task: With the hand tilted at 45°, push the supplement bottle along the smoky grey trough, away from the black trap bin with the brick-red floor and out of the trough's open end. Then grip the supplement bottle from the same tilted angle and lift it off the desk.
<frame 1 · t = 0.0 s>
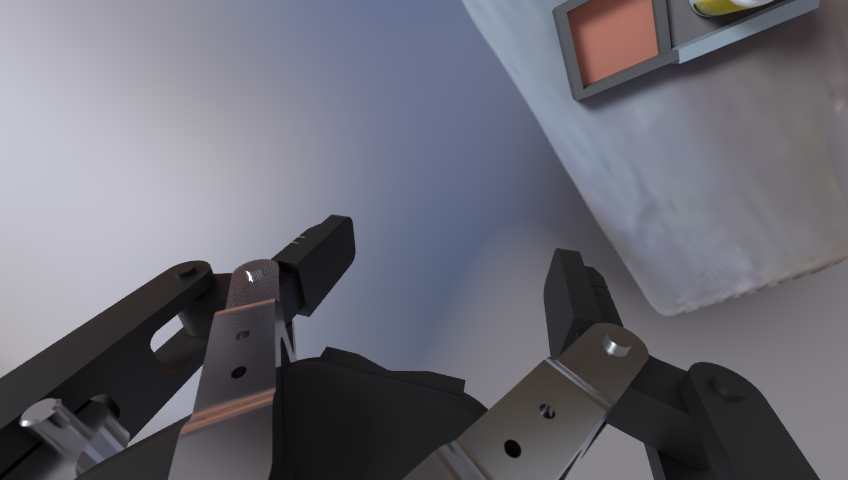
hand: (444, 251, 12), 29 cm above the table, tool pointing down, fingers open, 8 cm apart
trap bin: (613, 34, 29), on the table
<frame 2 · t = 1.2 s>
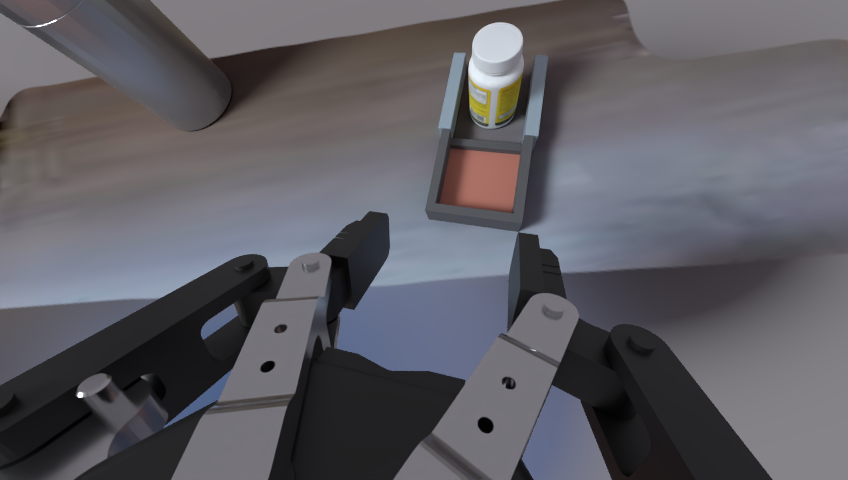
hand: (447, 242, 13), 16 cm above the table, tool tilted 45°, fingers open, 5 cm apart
trough: (490, 115, 32), on the table
supplement bottle: (492, 112, 33), on the table
trap bin: (479, 178, 29), on the table
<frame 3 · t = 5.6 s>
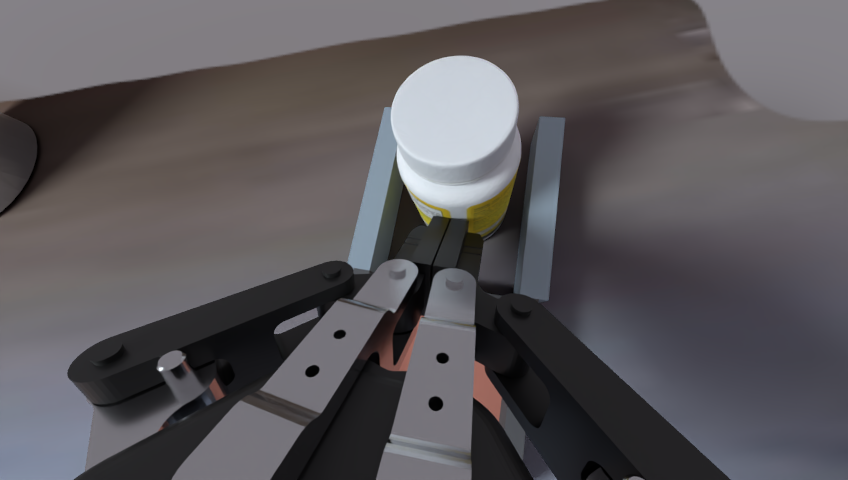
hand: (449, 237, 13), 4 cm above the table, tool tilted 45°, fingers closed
trough: (456, 222, 17), on the table
supplement bottle: (462, 207, 18), on the table, touching gripper
trap bin: (428, 376, 14), on the table
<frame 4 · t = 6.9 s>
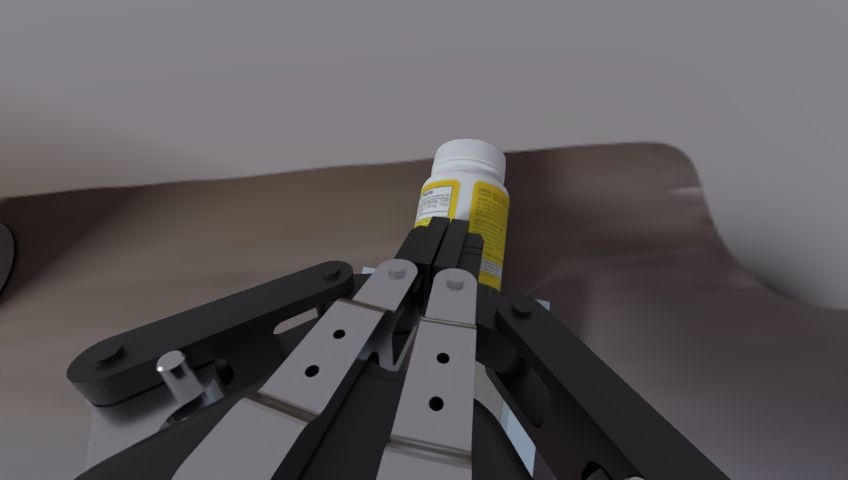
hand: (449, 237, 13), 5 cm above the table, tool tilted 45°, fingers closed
trough: (435, 388, 16), on the table
supplement bottle: (447, 312, 15), point 2 cm above the table, touching gripper
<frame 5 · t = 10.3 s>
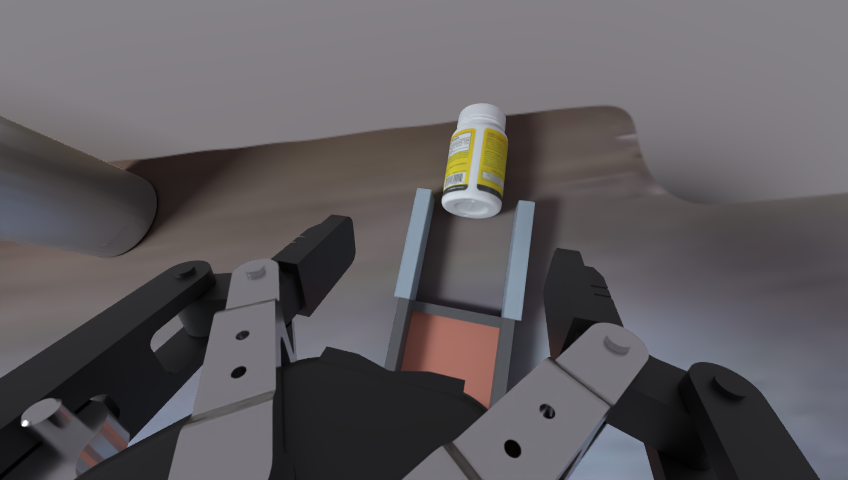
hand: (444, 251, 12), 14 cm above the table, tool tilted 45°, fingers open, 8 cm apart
trough: (464, 264, 26), on the table
supplement bottle: (469, 211, 24), point 2 cm above the table
trap bin: (446, 366, 23), on the table
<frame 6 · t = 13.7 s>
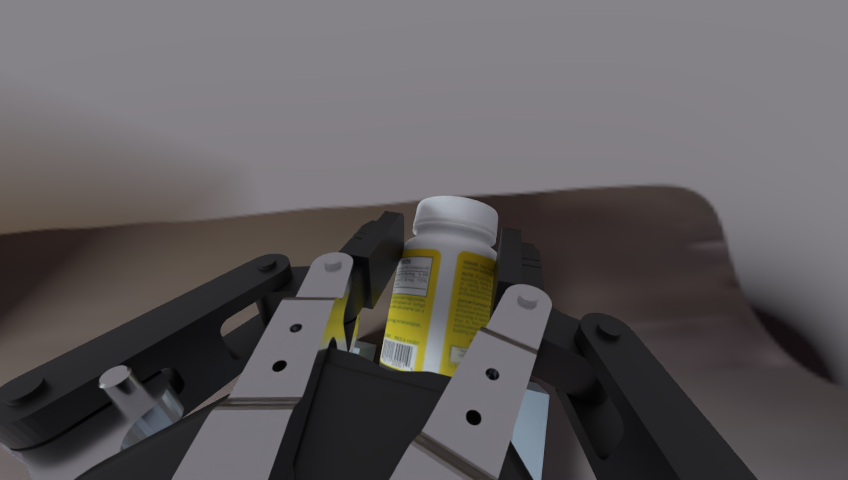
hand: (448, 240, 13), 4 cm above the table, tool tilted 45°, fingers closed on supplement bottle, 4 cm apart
trough: (420, 477, 14), on the table
supplement bottle: (428, 400, 13), point 2 cm above the table, touching gripper
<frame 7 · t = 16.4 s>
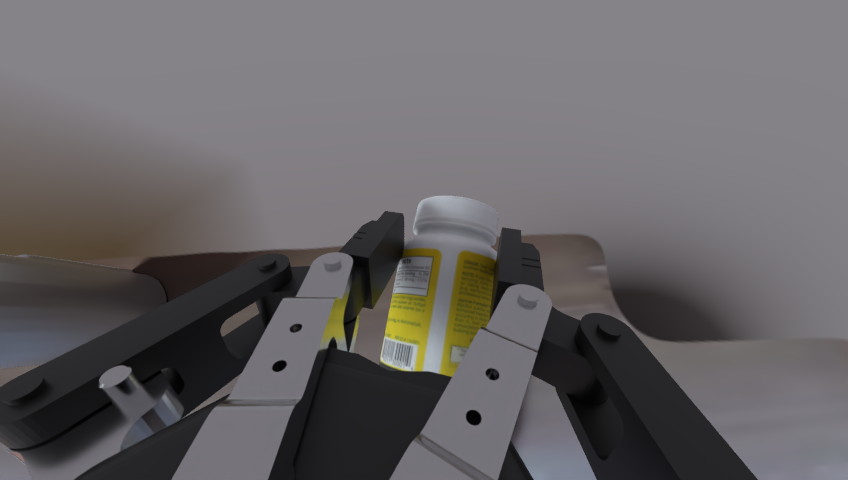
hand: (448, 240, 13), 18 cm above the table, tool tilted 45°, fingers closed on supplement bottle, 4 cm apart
supplement bottle: (428, 400, 13), point 17 cm above the table, touching gripper
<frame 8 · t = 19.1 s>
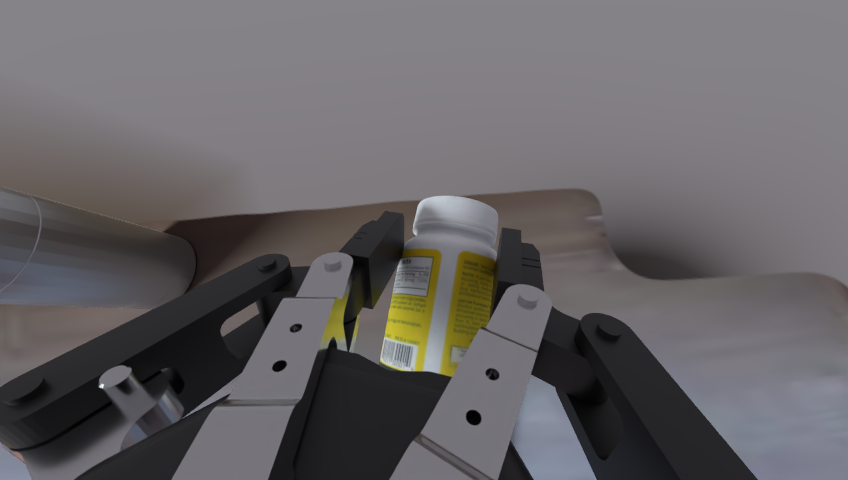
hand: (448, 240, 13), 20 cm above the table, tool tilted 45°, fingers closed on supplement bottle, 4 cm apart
supplement bottle: (428, 400, 13), point 18 cm above the table, touching gripper
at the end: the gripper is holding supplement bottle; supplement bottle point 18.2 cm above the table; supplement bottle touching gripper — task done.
